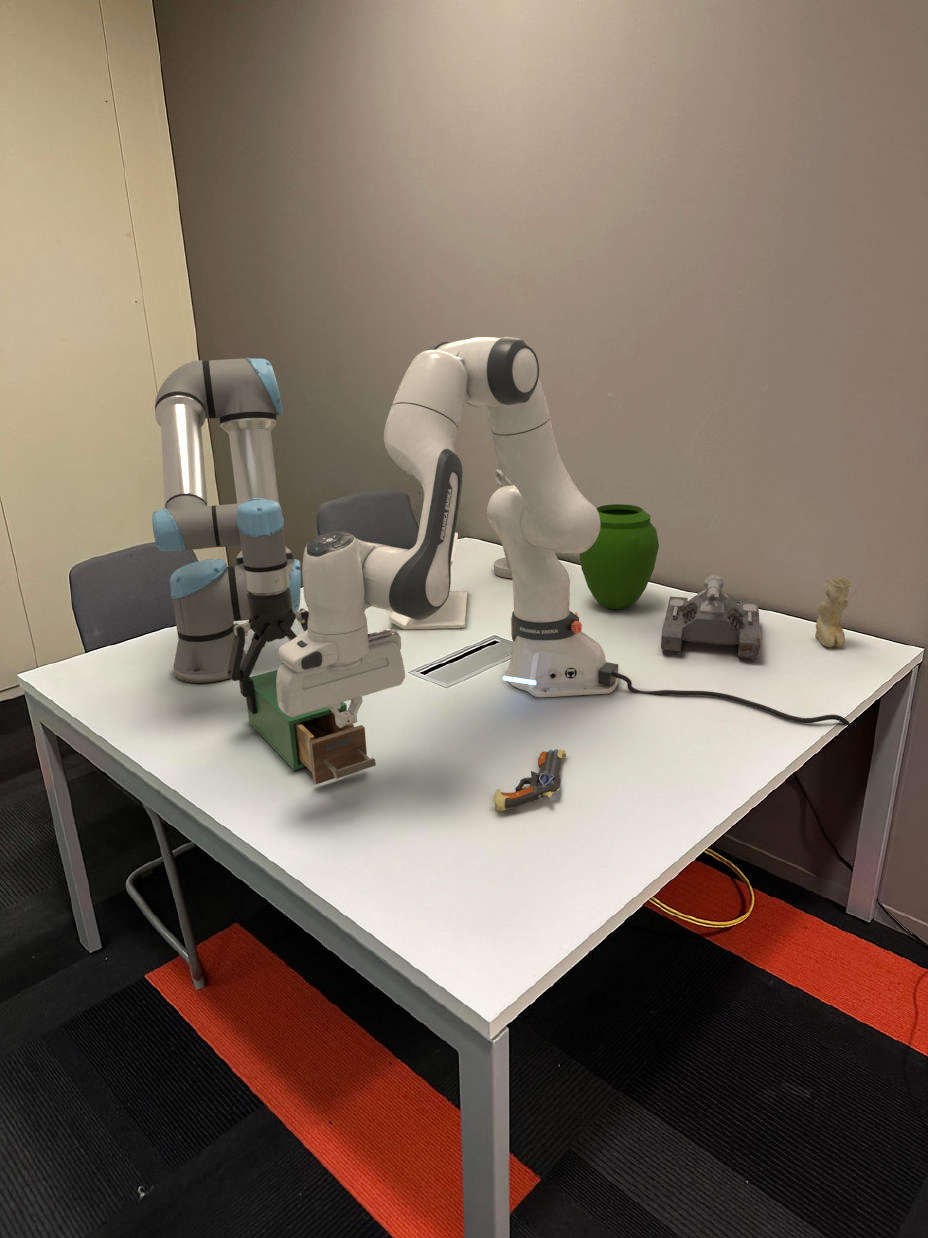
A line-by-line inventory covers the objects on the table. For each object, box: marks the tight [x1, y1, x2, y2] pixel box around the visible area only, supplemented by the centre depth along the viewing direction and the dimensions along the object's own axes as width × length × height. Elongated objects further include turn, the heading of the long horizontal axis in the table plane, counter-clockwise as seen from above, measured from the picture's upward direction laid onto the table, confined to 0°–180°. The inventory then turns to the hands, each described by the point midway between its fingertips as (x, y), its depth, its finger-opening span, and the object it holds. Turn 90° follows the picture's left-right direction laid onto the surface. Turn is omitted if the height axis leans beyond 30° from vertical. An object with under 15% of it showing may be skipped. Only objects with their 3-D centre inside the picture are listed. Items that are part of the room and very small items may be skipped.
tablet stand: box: [388, 531, 468, 630], centre depth 211 cm, size 18×25×17 cm
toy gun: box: [493, 748, 567, 812], centre depth 136 cm, size 3×19×10 cm
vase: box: [578, 503, 660, 610], centre depth 210 cm, size 20×20×24 cm
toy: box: [660, 574, 761, 660], centre depth 189 cm, size 25×20×15 cm
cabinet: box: [245, 669, 348, 771], centre depth 152 cm, size 22×10×9 cm, turn 33°
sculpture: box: [814, 576, 852, 648], centre depth 185 cm, size 6×7×15 cm
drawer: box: [294, 713, 377, 785], centre depth 143 cm, size 26×9×7 cm, turn 33°
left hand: (281, 702), depth 158 cm, fingers closed on cabinet, 10 cm apart
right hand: (346, 724), depth 133 cm, fingers closed
